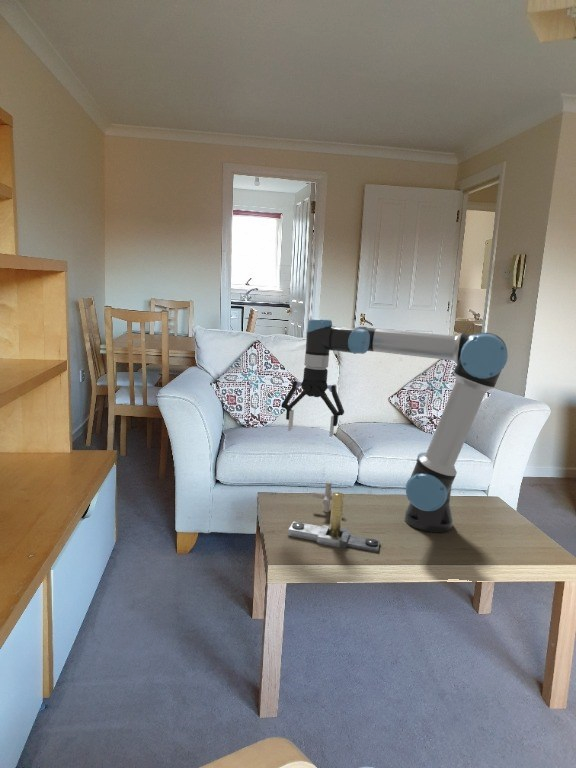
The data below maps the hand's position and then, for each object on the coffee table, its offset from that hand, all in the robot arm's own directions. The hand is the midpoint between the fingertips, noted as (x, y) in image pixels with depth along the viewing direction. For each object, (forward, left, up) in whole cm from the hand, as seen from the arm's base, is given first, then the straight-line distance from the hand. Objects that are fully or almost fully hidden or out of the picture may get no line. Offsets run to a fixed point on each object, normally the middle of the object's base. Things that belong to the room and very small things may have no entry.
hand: (310, 432), depth 171 cm
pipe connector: (-7, -3, -27) cm, 28 cm away
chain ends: (-13, +17, -27) cm, 34 cm away
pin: (-13, +17, -27) cm, 34 cm away
